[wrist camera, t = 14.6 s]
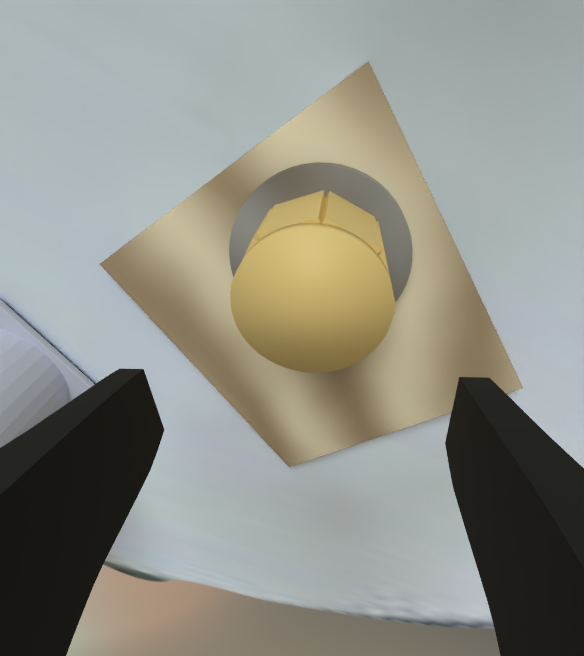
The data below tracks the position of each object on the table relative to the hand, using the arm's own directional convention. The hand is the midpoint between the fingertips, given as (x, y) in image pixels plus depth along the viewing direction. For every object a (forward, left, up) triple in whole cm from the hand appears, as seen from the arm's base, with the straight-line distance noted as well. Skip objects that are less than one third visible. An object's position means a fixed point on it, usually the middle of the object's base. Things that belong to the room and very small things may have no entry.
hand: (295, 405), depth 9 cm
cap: (0, 0, -8) cm, 8 cm away
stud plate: (-2, -3, -10) cm, 11 cm away
